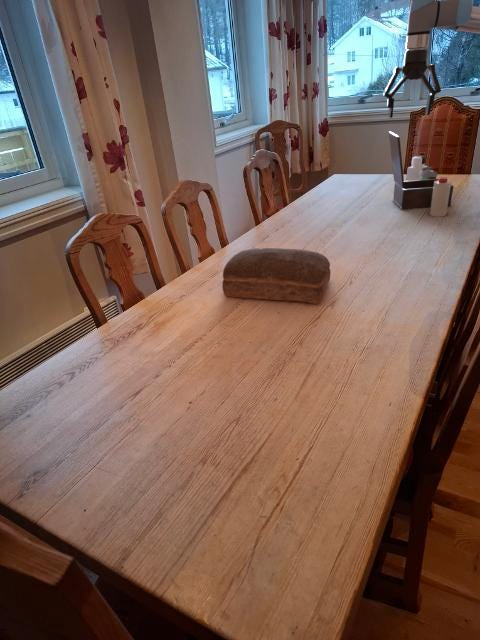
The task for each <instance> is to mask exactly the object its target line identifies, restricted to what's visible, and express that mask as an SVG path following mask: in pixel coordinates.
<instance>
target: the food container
mask: <svg viewBox="0 0 480 640" xmlns="http://www.w3.org/2000/svg"><path fill="white" fill-rule="evenodd" d="M420 175H421V180H428V179H437V177H438V172H437V171H435V170H434V169H433V166H428V167H425V168H422V169H421V171H420Z"/></svg>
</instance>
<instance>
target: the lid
mask: <svg viewBox="0 0 480 640" xmlns="http://www.w3.org/2000/svg"><path fill="white" fill-rule="evenodd" d="M388 138H389V147H390V156H391V164H392V175H393V181H394V183H395V182H396V183H397V184H398V185H399V186H400V187H401V188H402V189H404V188H405V186H404V181H405V179H404V177H405V176H404V168H403V157H402V146H401V138H400V136H399V135H398V134H396V133H394V132H393V131H388Z"/></svg>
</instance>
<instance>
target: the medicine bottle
mask: <svg viewBox="0 0 480 640" xmlns="http://www.w3.org/2000/svg"><path fill="white" fill-rule="evenodd" d="M425 167H429V166H428V165H426V157H425V155H415V156H412V158H411V166H408V167H407V170H406V179H405V181H414V180H421V175H420V171H421V169H422V168H425Z"/></svg>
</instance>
